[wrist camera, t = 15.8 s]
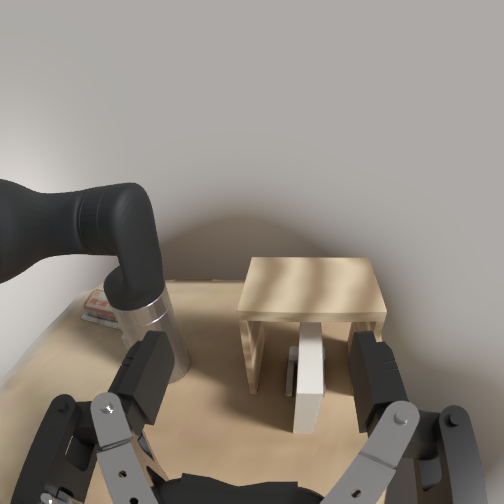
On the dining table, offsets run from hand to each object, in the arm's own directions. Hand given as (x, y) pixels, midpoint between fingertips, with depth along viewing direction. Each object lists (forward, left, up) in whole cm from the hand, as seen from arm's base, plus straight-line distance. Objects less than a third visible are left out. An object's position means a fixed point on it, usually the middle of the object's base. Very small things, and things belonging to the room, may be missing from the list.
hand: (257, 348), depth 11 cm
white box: (+3, +16, -31) cm, 35 cm away
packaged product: (-40, +33, -32) cm, 61 cm away
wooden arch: (+3, +22, -31) cm, 39 cm away
